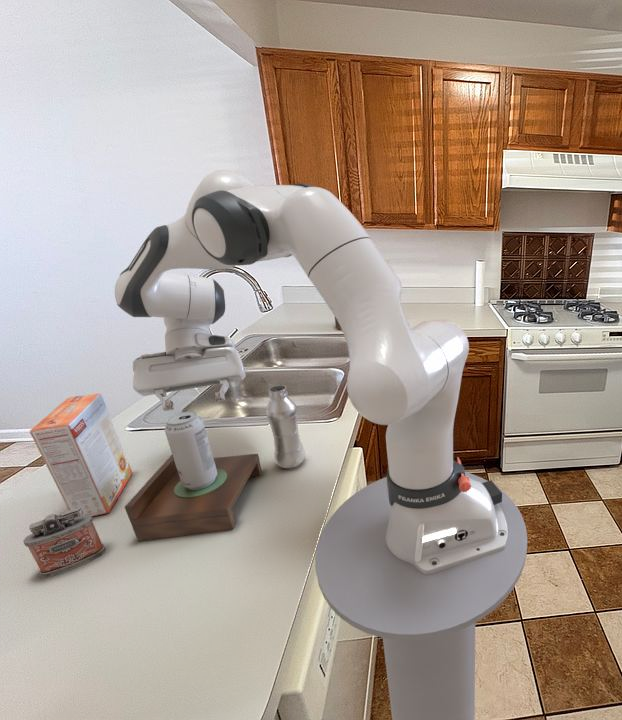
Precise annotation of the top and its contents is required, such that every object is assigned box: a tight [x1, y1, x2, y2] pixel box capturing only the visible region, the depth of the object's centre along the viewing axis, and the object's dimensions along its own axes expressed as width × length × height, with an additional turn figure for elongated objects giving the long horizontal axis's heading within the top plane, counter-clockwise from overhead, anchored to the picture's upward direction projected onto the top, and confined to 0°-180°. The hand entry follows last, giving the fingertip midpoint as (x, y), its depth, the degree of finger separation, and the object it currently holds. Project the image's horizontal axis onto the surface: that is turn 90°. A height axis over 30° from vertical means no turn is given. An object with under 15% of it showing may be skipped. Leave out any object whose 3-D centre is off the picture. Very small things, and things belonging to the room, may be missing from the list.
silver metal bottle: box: [265, 384, 306, 469], centre depth 91 cm, size 6×7×20 cm
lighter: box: [23, 507, 107, 578], centre depth 67 cm, size 8×3×10 cm, turn 131°
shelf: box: [124, 453, 263, 542], centre depth 81 cm, size 16×18×8 cm
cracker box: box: [29, 392, 133, 518], centre depth 80 cm, size 14×6×21 cm, turn 23°
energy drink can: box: [164, 411, 217, 490], centre depth 78 cm, size 6×6×15 cm
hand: (194, 405), depth 86 cm, fingers open, 8 cm apart
